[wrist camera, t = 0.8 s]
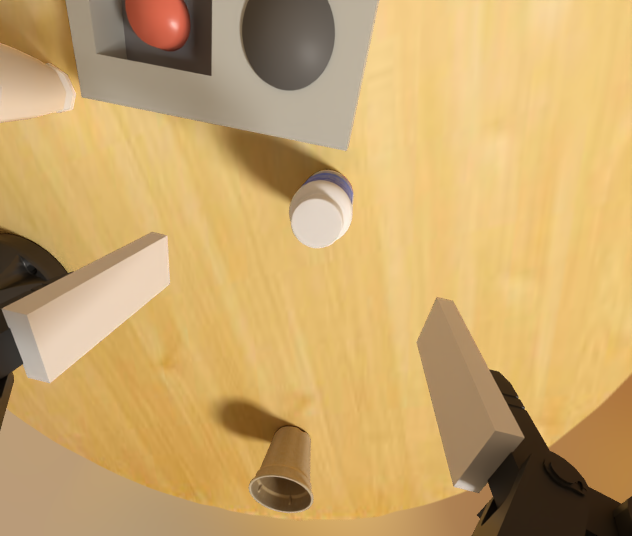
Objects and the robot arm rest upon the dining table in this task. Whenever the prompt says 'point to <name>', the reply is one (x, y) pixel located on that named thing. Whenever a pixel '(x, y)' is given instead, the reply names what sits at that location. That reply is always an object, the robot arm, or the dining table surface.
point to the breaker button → (160, 22)
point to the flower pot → (285, 473)
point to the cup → (31, 87)
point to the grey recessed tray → (235, 64)
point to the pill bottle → (322, 209)
